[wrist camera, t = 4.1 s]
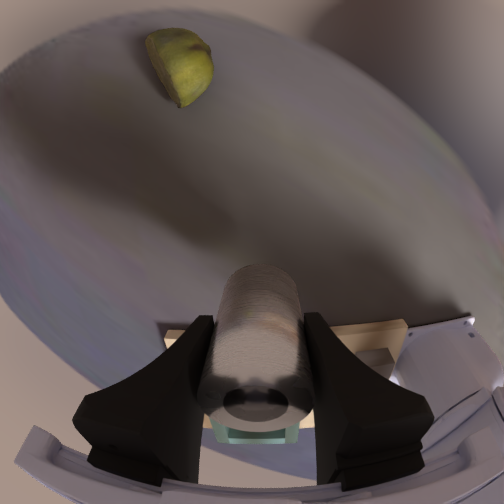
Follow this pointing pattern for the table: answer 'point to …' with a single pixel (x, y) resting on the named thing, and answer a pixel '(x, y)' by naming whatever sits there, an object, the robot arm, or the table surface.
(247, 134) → the table surface
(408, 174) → the table surface
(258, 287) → the bushing
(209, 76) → the lime
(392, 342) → the jig
